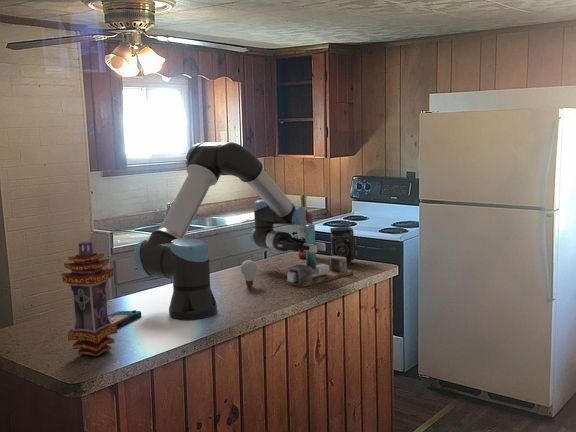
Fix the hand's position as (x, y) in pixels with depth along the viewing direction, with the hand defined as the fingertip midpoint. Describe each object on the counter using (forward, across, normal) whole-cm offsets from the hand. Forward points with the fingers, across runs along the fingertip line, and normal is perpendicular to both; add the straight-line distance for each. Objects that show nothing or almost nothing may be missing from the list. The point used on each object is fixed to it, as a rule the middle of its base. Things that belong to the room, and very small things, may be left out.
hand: (320, 248), depth 231 cm
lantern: (+10, +92, -13) cm, 93 cm away
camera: (-16, -28, -13) cm, 35 cm away
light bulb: (-15, +22, -13) cm, 30 cm away
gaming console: (-11, +79, -14) cm, 81 cm away
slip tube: (-5, +1, -11) cm, 13 cm away
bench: (-5, -4, -13) cm, 15 cm away
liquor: (-38, -26, -13) cm, 48 cm away
